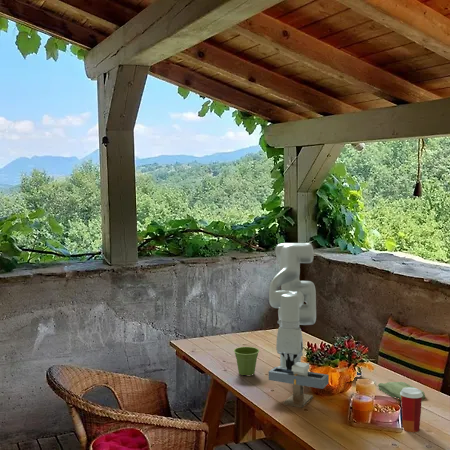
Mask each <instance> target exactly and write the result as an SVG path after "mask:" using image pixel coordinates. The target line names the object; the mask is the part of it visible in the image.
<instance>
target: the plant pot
mask: <svg viewBox="0 0 450 450" xmlns="http://www.w3.org/2000/svg"><path fill="white" fill-rule="evenodd" d="M233 352H234V355H235V358H236V364H237V371H238V375H239V374H241V375H252V374H254V375H255V372H256V367H257V359H258V355H259V352H260V349H259V348H257V347H253V346H240V347H236V348H234V349H233ZM241 375H240V376H241ZM252 376H253V375H252Z"/></svg>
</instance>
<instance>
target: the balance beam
mask: <svg viewBox="0 0 450 450" xmlns="http://www.w3.org/2000/svg"><path fill="white" fill-rule="evenodd" d="M329 377H330V376H329V374H326V373H325V374H324V373H320V372H313V371H308V376H303V375H298V374H293V371H292V370H287V368H281V367H278V366H275V367H272V368H271V369H270V370H269V371H268V381H272V382H278V383H285V384H289V385H290V384H292V394H291V395H290V396H289V397H288V398H286V399H285V400H284V401H283V405H284V404H285V405H286V406H289V405H290V406H289V407H296V408H301V409H302V408H304V407H306V405H307V404H308V403H309V402H310V401H311V400H312V399H313V398H314V395H313V394H306V393H305V392H304V390H305V389H304V387H309V388H310V387H311V388H315V389H322V390H323V389H325V388H326V387H327V385H328V384H329V383H330V381H329V379H330V378H329Z"/></svg>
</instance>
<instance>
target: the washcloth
mask: <svg viewBox="0 0 450 450" xmlns="http://www.w3.org/2000/svg"><path fill="white" fill-rule="evenodd" d="M377 387H378V388H379V389H380V390H379V389H378V390H379V391H381V390H382V391H381V392H383V393H384V392H385V394H386V393H387V394H386V395H388V394H389V395H388V396H390V397H391V398H393V397H396V398H399V399H400V400H401V395H400V392H401V391H402V389H403V388H407V387H411V388H416V387H415V386H413V385H410V384H408V383H407V382H406V381H388V382H386V383H385V382H378V384H377ZM419 390H420V391H421V392H422V394H423V396H422V400H423V399H425V398H426V394H425V392H424V391H423V390H421V389H419Z"/></svg>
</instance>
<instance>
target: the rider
mask: <svg viewBox="0 0 450 450" xmlns="http://www.w3.org/2000/svg"><path fill="white" fill-rule="evenodd" d="M309 369H310V363H307V362H297V363H296V364H294V365H293V366H292V371H293V374H298V375H303V376H308V372H309Z"/></svg>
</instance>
